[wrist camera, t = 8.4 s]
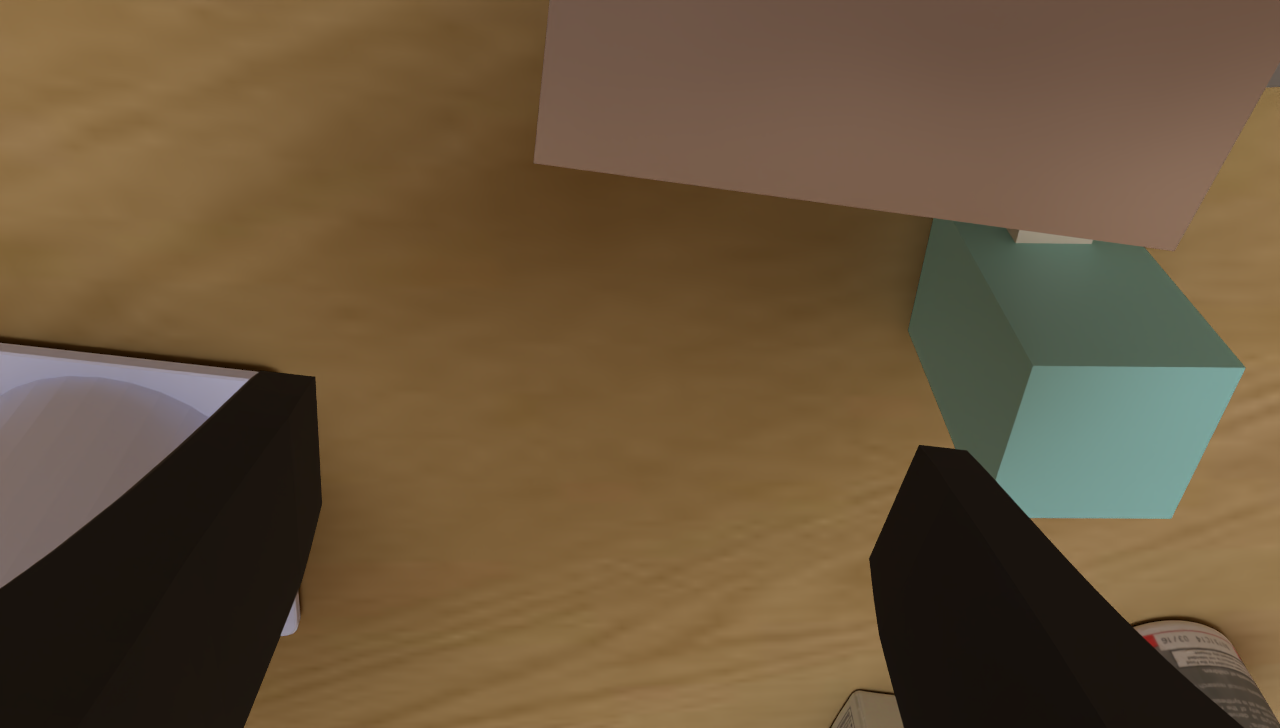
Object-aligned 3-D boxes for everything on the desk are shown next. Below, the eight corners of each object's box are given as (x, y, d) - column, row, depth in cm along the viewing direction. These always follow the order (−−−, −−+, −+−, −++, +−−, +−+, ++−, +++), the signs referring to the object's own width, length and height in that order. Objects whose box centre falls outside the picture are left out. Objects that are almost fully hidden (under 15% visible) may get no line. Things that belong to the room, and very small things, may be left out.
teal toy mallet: (1056, 331, 23) (1171, 518, 18) (908, 330, 23) (983, 517, 18) (1366, -585, 13) (1774, -705, 9) (1115, -592, 13) (1388, -717, 9)
